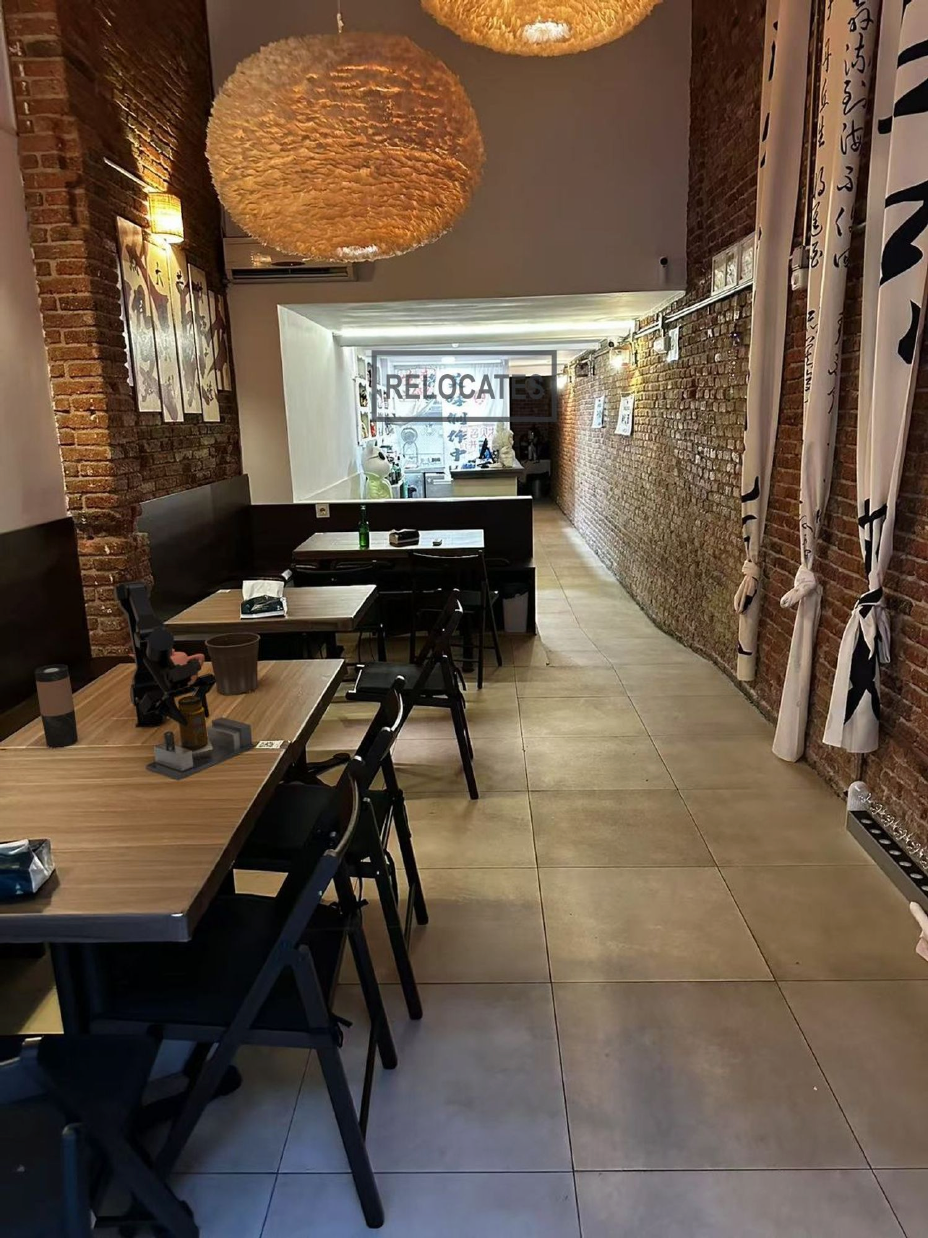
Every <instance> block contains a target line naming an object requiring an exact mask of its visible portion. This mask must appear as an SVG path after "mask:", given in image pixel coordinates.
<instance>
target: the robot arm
mask: <svg viewBox="0 0 928 1238" xmlns="http://www.w3.org/2000/svg"><path fill="white" fill-rule="evenodd" d="M113 596H114V600H115V602H116V601H117V605H118V608H119V610H120V611H121V612H123V613H124V614H125V616H126V618H127V619H126V620H127V623H128V629H129V635H130V636H129V637H130V641H131V642H130V643H131V647H132V653H133V655H134V658H133V659H134V662H135V670H134V673H133V675H132V678H131V684H130V690H129V696H130V701H131V704H132V705H133V707H135V712H136V718H137V723H136V724H134V725H135V728H136V727H137V728H138V727H139V728H141V727H143V728H144V727H159V726H161V725H162V724H163V723H164V722H165V721H166V720H167V719H168V718H169V719H171V720H173V721H175V722H176V723H178V724H179V723H180V724H181V725H183V726H186V725H187V721H186V719H185V718H184V716H183V715H182V713H181V712H180V710H179V706H177V704H176V698H179V697H181V696H184V695H187V694H191V695H190V696H199V697H200V698H201V703H202V707H203V708H204V714H205V719H209V717H210V711H209V705H208V702H207V694H209V693H210V691H212V689H213V688H214V686H215V685H216V682H217V679H216V678H215V676H214V673H206V674H203V675H199V672H200V671H201V670H202V667H201V665H200V663H199V660H198V659H197V658H194V659H191V660H189V661H187V664H184V665H179V664H177V665H175V664H174V662H173V660H172V659H171V655H172V649H174V644H175V637H174V636H175V635H174V634H172V633H171V631H170V630H169V629H168V628H167V627H165V624H164V622H163V620H162V619H160V618H159V617H156V615H155V613H154V610H153V608H152V605H151V604H152V603H151V601H150V597H151V591H150V584H149V582H145V581H142V580H138V581H129V582H128V581H127V582H119V583H117V586H114V588H113ZM199 670H200V671H199ZM197 671H199V672H198V673H197ZM197 674H198V677H197V679H196V680H195V682H194V683H193V684H190V685H188V682H190V681H191V680H192V679H191V677H192V676H194V675H197Z"/></svg>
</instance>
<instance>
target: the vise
mask: <svg viewBox="0 0 928 1238" xmlns="http://www.w3.org/2000/svg"><path fill="white" fill-rule="evenodd" d="M206 729H207V737H208V738H209V741H210V743H211V745H212V748H213V749H211V750H208V751H202V752H197V753H192V759H193V767H192V768H189V769H187V770H184V771H180V770H177V769H174V768H171V767H168V766H165V765H162V764H159V763H156V760H154V761H153V762H151V763H148V764H145V770H148V771H151V772H152V773H156V774H159V775H162V776H164V777H167V778H170V779H172V780H176V781H179V780H182V779H184V778H188V777H189V776H191V775H192V776H193V775H194V774H196V773H199V772H200V771H203V770H206V769H208V768H211V767H213V766H215V765H217V764H220V763H221V762H222V763H223V762H224V761H227V760H229V759H231V757H232V758H234V757H236V756H238V755H237V754H239V753H241V754H243V753H245V752H244V751H246V752H248V751H250V750H252V749H254V748H255V744H254V743H253V739H252V726H251V724H249V723H245V722H241V721H238V720H234V719H230V718H226V717H222V716H221V717H218V718H215V719H212V720H211V725H209V726H206ZM235 755H236V756H235ZM239 755H240V754H239ZM233 756H234V757H233ZM226 759H227V760H226Z"/></svg>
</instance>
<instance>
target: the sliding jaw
mask: <svg viewBox="0 0 928 1238" xmlns="http://www.w3.org/2000/svg"><path fill="white" fill-rule="evenodd" d="M163 737H164V742H163V743H159V744H157V745H154V746H153V750H154V751H153V752H154V758H155V759H154V761H156V763H159V764H162V765H165V766H168V767H171V768H174V769H177V770H180V771H184V770H187V769H189V768H192V767H193V759H192V751H191V750H188V749H185V748H182V747H178V745H176V743H175V737H174V731H170V730H169V731H166V732H164V733H163Z"/></svg>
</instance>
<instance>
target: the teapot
mask: <svg viewBox="0 0 928 1238" xmlns="http://www.w3.org/2000/svg"><path fill="white" fill-rule="evenodd" d="M128 655H129V656H130V657H131V658H133V659H134V653H133V654H132V653H130V654H129V653H128ZM194 658H196V659H197V660H198V661H199V663H200V665H201V668H202V667H203V666H204V663H205V659H206V658H205V655H204V654H203V653H196V654H193V655H190V656H188V655H187V653H185V652H183V651H175V648H173V649H172V655H171V659H172V660H173V662H174V664H175V665H177V664H179V665H184V664H187V661H189V660H191V659H194ZM200 671H201V670H199V671H197V673H198V674H197V675H194V676H192V677H191V679H192V680H191V681H190V682H188V685H190V684H193V683H194V682H195V680H196V679H197V677H199V672H200Z"/></svg>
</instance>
